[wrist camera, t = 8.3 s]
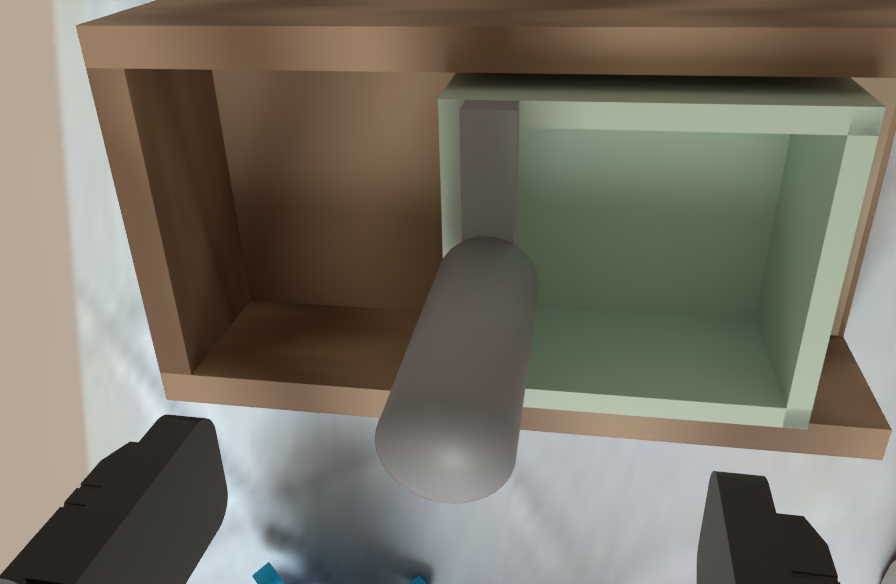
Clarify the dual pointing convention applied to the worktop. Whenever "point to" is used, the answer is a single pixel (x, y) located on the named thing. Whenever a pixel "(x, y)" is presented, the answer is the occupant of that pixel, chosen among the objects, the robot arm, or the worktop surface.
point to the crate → (626, 259)
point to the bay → (401, 178)
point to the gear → (270, 580)
